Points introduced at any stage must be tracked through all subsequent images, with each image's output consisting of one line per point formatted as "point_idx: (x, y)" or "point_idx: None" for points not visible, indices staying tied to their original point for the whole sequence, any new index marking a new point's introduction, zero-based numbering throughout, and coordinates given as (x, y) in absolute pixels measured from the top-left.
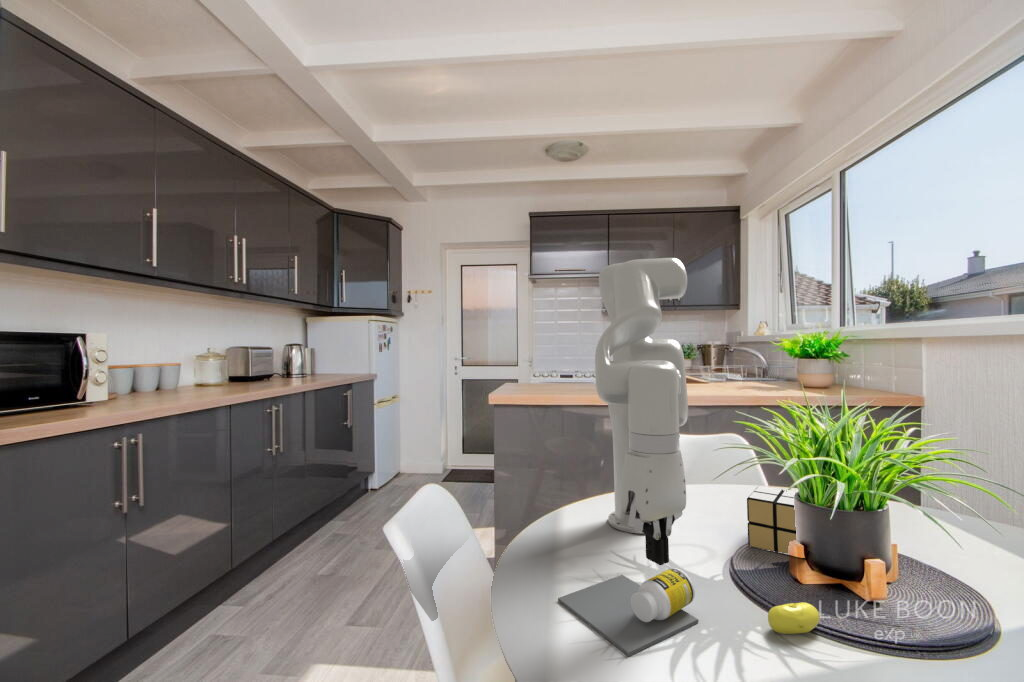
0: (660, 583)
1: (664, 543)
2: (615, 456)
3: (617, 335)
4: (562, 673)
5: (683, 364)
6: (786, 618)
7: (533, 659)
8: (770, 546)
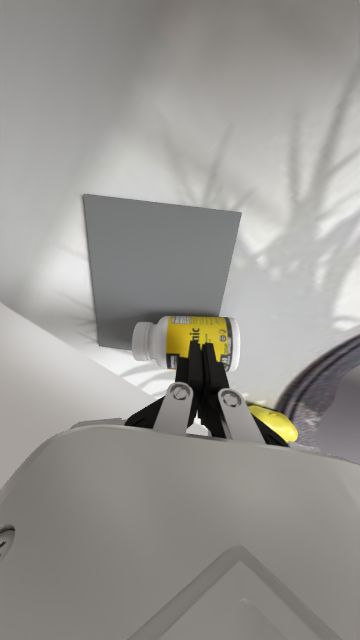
0: (170, 363)
1: (197, 409)
2: None
3: None
4: (27, 319)
5: None
6: None
7: (3, 284)
8: None
